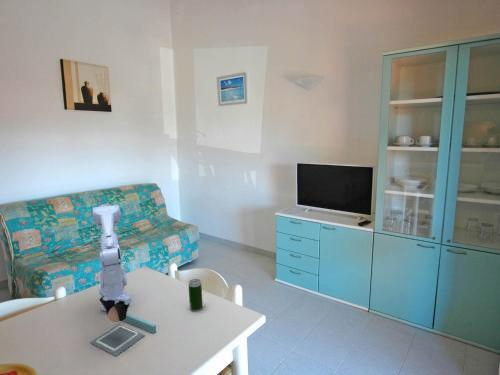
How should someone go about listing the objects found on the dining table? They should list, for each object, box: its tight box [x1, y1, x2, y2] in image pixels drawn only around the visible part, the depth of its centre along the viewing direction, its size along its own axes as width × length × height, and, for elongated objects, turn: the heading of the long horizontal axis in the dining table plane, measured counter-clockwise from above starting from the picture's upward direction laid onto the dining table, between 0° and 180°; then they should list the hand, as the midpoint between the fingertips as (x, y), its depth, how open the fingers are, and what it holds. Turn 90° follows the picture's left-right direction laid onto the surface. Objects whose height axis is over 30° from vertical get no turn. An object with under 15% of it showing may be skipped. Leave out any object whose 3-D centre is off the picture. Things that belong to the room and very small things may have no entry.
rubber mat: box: [89, 323, 146, 358], centre depth 110 cm, size 14×12×1 cm
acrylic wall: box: [123, 312, 157, 335], centre depth 118 cm, size 20×1×3 cm, turn 60°
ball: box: [107, 306, 121, 323], centre depth 108 cm, size 6×6×6 cm
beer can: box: [188, 278, 203, 312], centre depth 127 cm, size 5×5×12 cm
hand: (117, 317), depth 109 cm, fingers closed on ball, 5 cm apart
